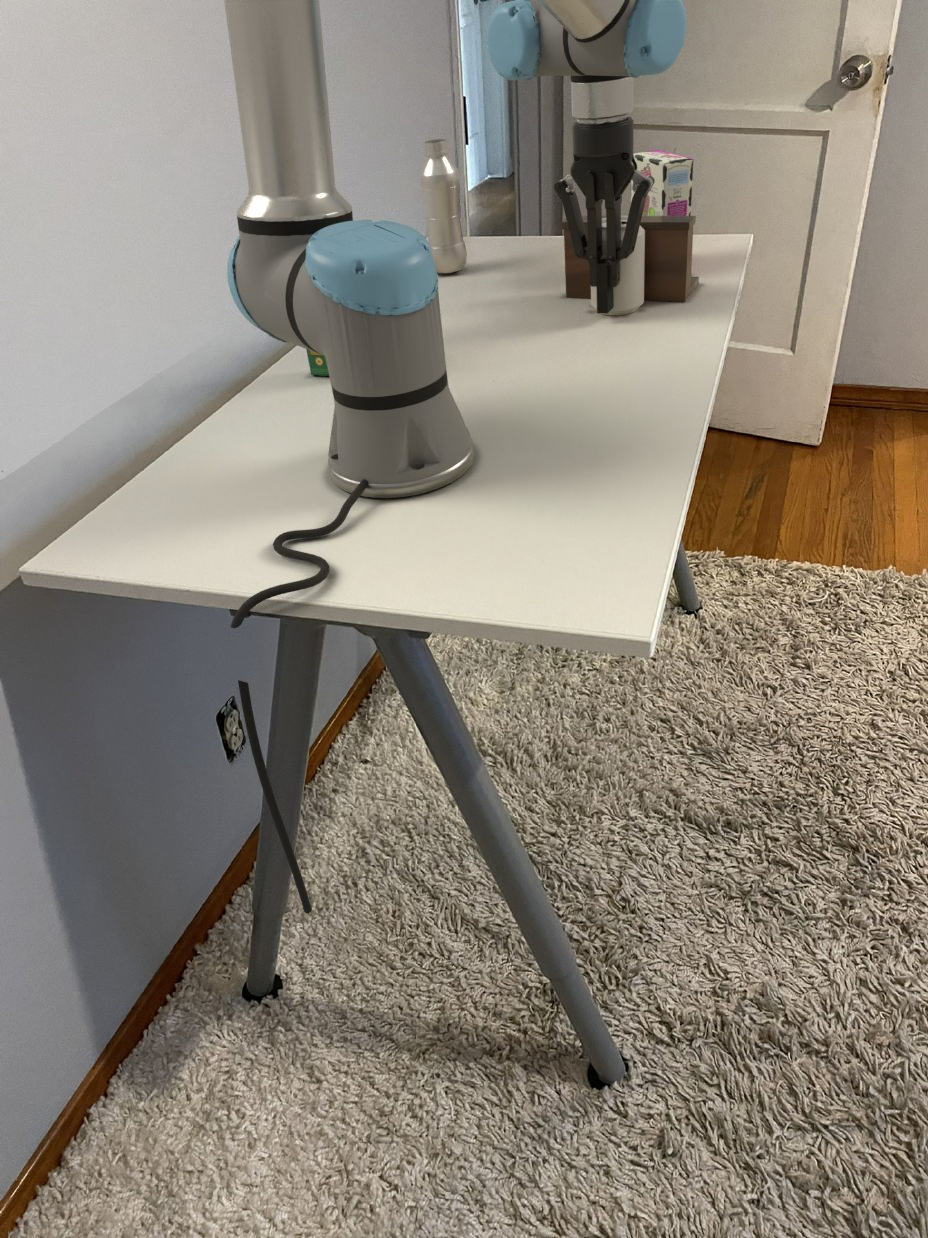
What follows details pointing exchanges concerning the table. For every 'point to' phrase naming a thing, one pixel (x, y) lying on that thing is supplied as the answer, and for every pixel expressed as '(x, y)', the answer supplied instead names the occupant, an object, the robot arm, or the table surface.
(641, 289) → the can
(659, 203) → the candy bar box
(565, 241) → the wooden box
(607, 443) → the table surface
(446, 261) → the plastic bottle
